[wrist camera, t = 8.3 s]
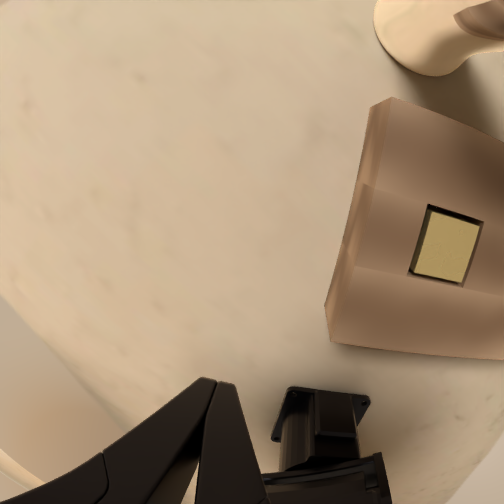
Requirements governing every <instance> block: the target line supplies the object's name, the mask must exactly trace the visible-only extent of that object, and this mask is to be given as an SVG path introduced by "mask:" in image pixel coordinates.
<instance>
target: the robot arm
mask: <svg viewBox="0 0 504 504" xmlns="http://www.w3.org/2000/svg"><path fill="white" fill-rule="evenodd" d="M292 392H294V393H295V394H292ZM363 401H365V402H363ZM369 405H370V398H369V396H367V395H357V394H348V393H339V392H331V391H323V390H316V389H309V388H302V387H295V386H292V387H289V388H288V389H287V391H286V394H285V397H284V399H283V402H282V405H281V408H280V411H279V414H278V417H277V420H276V422H275V425H274V428H273V431H272V433H271V440H272V441H274V442H279V443H281V447H280V459H279V471H278V472H275V473H264V474H261V472H260V469H259V465H258V462H257V459H256V456H255V452H254V449H253V446H252V442H251V439H250V436H249V432H248V429H247V425H246V422H245V418H244V415H243V411H242V408H241V404H240V401H239V397H238V393H237V390H236V387H235V385H234V384H232V383H227V382H223V381H219V382H218V383H217V381H216V380H214V379H210V378H206V377H200V378H199V379H197V380H196V381H195V382H194V383H192V384H191V385H190V386H188V387H187V388H186V389H185V390H183V391H182V392H181V393H180V394H178V395H177V396H176V397H174V398H173V399H172V400H171V401H169V402H168V403H167V404H165V405H164V406H163V407H161V408H160V409H159V410H157V411H156V412H155V413H153V414H152V415H151V416H150V417H148V418H147V419H145V420H144V421H143V422H141V423H140V424H139V425H137V426H136V427H135V428H133V429H132V430H131V431H129V432H128V433H126V434H125V435H124V436H123V437H121V438H120V439H118V440H117V441H115V442H114V443H113V444H111V445H110V446H108V447H107V448H105V449H104V450H103V453H101V452H100V453H98V454H96V455H95V456H94V457H92V458H91V459H89V460H88V461H86V462H85V463H83V464H82V465H80V466H78V467H77V468H75V469H73V470H72V471H70V472H68V473H66V474H64V475H62V476H60V477H58V478H56V479H54V480H52V481H50V482H48V483H46V484H44V485H41V486H39V487H37V488H34V489H32V490H30V491H27V492H25V493H23V494H20V495H18V496H15V497H13V498H10V499H8V500H5V501H2V502H0V504H181V502H182V499H183V497H184V495H185V493H186V490H187V488H188V486H189V484H190V481H191V479H192V477H193V475H194V472H195V470H196V468H197V465H198V463H199V468H198V477H197V485H196V494H195V503H194V504H392V499H391V494H390V489H389V484H388V479H387V475H386V470H385V466H384V462H383V457H382V453H381V452H379V453H375V454H373V455H372V456H368V457H364V458H361V453H360V446H359V439H358V432H357V426H358V424H359V423H360V421H361V419H362V417H363V416H364V414H365V412H366V410H367V409H368V407H369Z"/></svg>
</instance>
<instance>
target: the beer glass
mask: <svg viewBox="0 0 504 504" xmlns="http://www.w3.org/2000/svg"><path fill="white" fill-rule="evenodd" d="M373 22H374V28H375V31H376V34H377V36H378V38H379V40H380V42H381V44H382V45H383V47H384V48H385V49H386V51H387V52H388V53H389V54H390V55H391V56H392V57H393V58H394V59H395V60H396V61H397V62H399V63H400V64H401V65H403V66H404V67H406V68H408V69H409V70H411V71H414V72H416V73H419V74H422V75H426V76H443V75H446V74H449V73H451V72H453V71H454V70H456V69H457V68H458V67H459V66H460V65H461V64H462V63H463V62H464V61H465V60H466V59H467V58H469V57H470V56H472V55H475V54H479V53H488V52H504V0H378V1H377V3H376V5H375V8H374V13H373Z"/></svg>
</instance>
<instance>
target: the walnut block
mask: <svg viewBox="0 0 504 504" xmlns="http://www.w3.org/2000/svg"><path fill="white" fill-rule="evenodd" d="M427 204H431V205H435V206H438V207H441V208H444V209H448V210H450V211H449V212H451V213H453V214H456V215H458V216H460V217H462V218H464V219H466V220H468V221H470V222H472V223H474V224H476V225H478V226H480V227H479V230H478V234H477V237H476V241H475V244H474V247H473V250H472V253H471V256H470V259H469V262H468V265H467V268H466V271H465V274H464V277H463V279H462V282H456V281H452V280H447V279H443V278H438V277H433V276H429V275H424V274H419V273H415V272H413V271H412V270H411V268H410V263H411V260H412V257H413V254H414V251H415V247H416V244H417V241H418V237H419V234H420V230H421V227H422V223H423V219H424V215H425V212H426V208H427ZM324 306H325V311H326V317H327V323H328V329H329V335H330V341H331V342H336V343H342V344H349V345H356V346H363V347H370V348H377V349H385V350H393V351H401V352H410V353H419V354H429V355H439V356H451V357H463V358H477V359H494V360H504V143H503V142H501V141H499V140H497V139H495V138H493V137H491V136H489V135H487V134H485V133H483V132H481V131H479V130H477V129H474V128H472V127H470V126H468V125H465V124H463V123H461V122H459V121H456V120H454V119H451V118H449V117H446V116H444V115H441V114H439V113H436V112H434V111H431V110H428V109H426V108H423V107H420V106H417V105H414V104H412V103H409V102H406V101H403V100H400V99H396V98H393V97H391V98H388V99H386V100H384V101H382V102H380V103H378V104H376V105H374V106H372V107H370V112H369V117H368V123H367V129H366V135H365V140H364V145H363V151H362V156H361V161H360V166H359V171H358V175H357V180H356V185H355V189H354V194H353V198H352V203H351V207H350V211H349V216H348V220H347V224H346V228H345V232H344V236H343V240H342V244H341V248H340V252H339V255H338V259H337V263H336V267H335V270H334V274H333V278H332V281H331V285H330V288H329V292H328V295H327V299H326V302H325V305H324Z"/></svg>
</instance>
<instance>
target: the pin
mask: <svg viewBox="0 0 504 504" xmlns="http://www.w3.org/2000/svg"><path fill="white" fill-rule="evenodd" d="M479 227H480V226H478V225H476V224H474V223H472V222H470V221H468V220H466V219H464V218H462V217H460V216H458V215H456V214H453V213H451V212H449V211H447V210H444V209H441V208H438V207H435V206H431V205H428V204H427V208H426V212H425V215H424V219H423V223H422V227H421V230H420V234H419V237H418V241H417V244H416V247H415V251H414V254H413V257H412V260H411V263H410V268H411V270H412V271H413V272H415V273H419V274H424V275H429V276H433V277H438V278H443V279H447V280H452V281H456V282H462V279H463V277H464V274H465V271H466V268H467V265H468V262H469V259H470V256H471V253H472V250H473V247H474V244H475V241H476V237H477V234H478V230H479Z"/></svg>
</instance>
